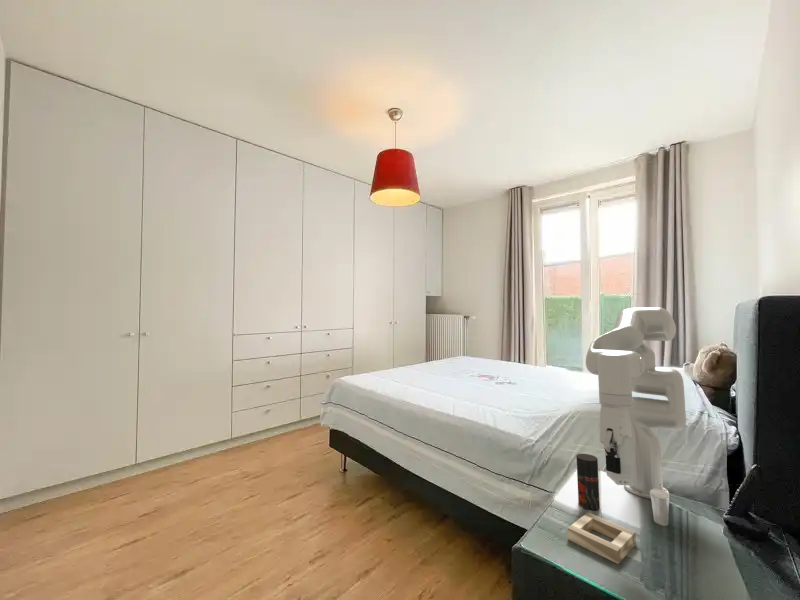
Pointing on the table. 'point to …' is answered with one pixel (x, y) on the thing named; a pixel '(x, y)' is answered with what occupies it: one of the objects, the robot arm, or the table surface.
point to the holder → (609, 550)
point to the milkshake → (660, 505)
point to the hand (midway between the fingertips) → (618, 467)
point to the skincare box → (624, 464)
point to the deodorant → (588, 482)
